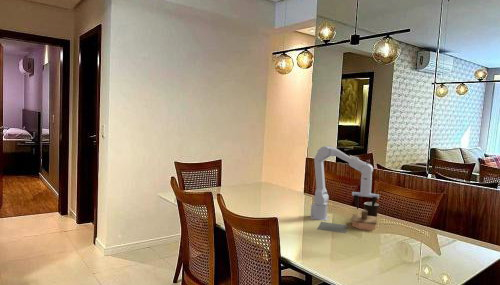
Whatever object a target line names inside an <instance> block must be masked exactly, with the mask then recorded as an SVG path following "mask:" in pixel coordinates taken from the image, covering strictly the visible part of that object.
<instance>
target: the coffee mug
mask: <svg viewBox="0 0 500 285" xmlns="http://www.w3.org/2000/svg"><path fill="white" fill-rule="evenodd" d="M379 206H380V204H379V203H377V202H376V203H375V205H374V207H373V211H371V208H372V201H366V202H364V203H363V210H364V211H368V212H367V216H375V217H377V218H378V212H379Z"/></svg>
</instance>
